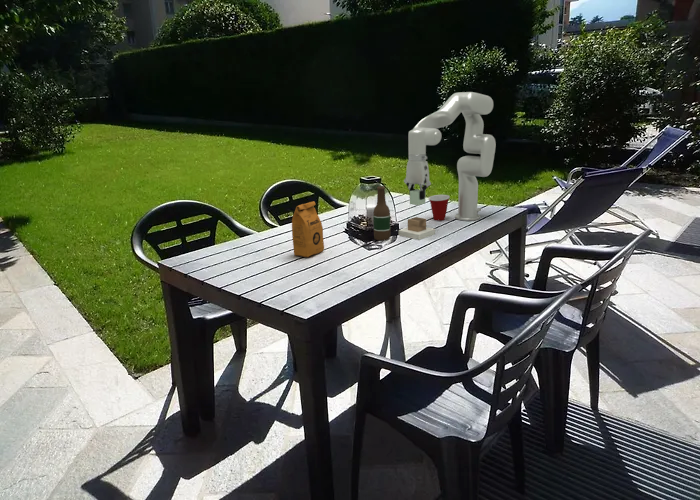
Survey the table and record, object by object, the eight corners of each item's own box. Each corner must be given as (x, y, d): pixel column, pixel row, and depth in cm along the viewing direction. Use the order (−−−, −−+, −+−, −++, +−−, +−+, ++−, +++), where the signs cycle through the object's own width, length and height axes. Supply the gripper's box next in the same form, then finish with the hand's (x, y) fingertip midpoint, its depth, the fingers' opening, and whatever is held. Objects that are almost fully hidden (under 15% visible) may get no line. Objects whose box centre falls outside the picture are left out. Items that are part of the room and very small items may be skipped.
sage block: (416, 202, 235) (416, 189, 233) (425, 203, 232) (425, 190, 230) (409, 204, 232) (409, 191, 230) (418, 205, 228) (418, 192, 226)
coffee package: (328, 252, 217) (325, 201, 210) (307, 259, 208) (303, 207, 202) (311, 248, 223) (308, 199, 217) (290, 255, 214) (286, 204, 208)
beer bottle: (384, 241, 228) (383, 188, 221) (370, 239, 232) (368, 187, 225) (394, 237, 234) (393, 185, 226) (380, 235, 238) (378, 184, 231)
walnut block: (415, 227, 239) (415, 216, 238) (426, 229, 235) (426, 218, 234) (407, 230, 235) (407, 219, 234) (418, 232, 231) (417, 221, 230)
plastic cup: (424, 218, 264) (424, 196, 260) (441, 215, 268) (441, 193, 264) (435, 223, 254) (436, 199, 251) (453, 220, 259) (454, 197, 255)
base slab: (415, 230, 244) (415, 225, 243) (435, 234, 236) (435, 228, 235) (398, 235, 236) (398, 230, 235) (419, 240, 228) (419, 234, 227)
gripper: (437, 158, 222) (437, 199, 227) (407, 156, 234) (407, 195, 239) (427, 160, 217) (427, 202, 222) (396, 158, 229) (397, 197, 234)
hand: (417, 198), depth 231 cm, fingers closed on sage block, 4 cm apart
